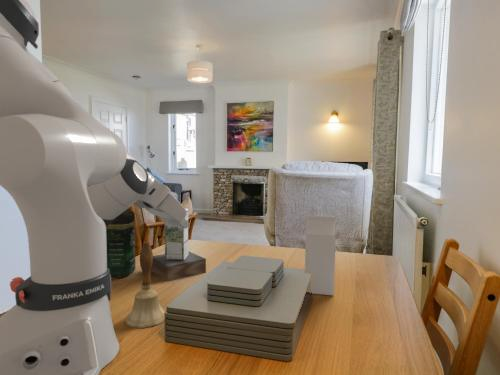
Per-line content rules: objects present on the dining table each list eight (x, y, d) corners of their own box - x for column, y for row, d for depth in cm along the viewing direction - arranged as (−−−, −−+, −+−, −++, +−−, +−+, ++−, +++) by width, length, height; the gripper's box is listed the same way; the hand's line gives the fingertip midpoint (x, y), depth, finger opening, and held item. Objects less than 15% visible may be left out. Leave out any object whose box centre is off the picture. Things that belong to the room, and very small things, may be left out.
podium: (167, 280, 94) (167, 266, 93) (150, 269, 103) (149, 256, 103) (205, 272, 101) (205, 258, 101) (186, 262, 110) (186, 250, 110)
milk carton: (333, 296, 84) (336, 218, 83) (304, 293, 86) (306, 217, 84) (332, 285, 91) (334, 214, 90) (305, 283, 92) (307, 213, 91)
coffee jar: (129, 278, 95) (128, 211, 94) (100, 279, 95) (98, 211, 93) (139, 267, 105) (137, 207, 103) (112, 268, 104) (110, 207, 103)
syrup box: (189, 255, 104) (188, 207, 103) (184, 260, 99) (183, 210, 97) (170, 254, 105) (169, 207, 104) (164, 260, 99) (163, 210, 98)
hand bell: (127, 312, 74) (126, 239, 73) (167, 308, 76) (166, 237, 75) (123, 330, 66) (121, 248, 65) (167, 325, 68) (166, 246, 67)
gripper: (125, 197, 101) (157, 226, 108) (153, 205, 85) (189, 239, 92) (140, 182, 104) (170, 211, 111) (170, 186, 88) (203, 220, 95)
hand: (179, 224), depth 101 cm, fingers closed on syrup box, 8 cm apart
